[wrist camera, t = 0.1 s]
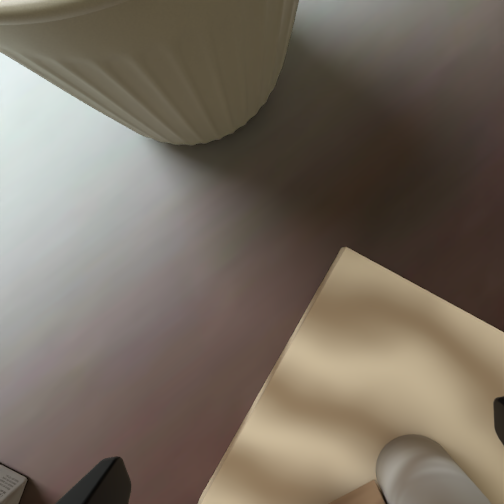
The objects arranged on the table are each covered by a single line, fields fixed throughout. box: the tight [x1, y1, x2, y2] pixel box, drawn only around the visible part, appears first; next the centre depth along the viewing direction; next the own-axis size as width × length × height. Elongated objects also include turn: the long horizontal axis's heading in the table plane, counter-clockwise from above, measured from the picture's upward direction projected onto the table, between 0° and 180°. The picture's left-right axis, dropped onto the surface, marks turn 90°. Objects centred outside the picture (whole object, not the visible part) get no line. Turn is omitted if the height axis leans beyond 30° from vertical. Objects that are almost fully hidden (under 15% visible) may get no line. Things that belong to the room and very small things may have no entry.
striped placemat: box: [198, 247, 504, 504], centre depth 21 cm, size 23×22×2 cm
